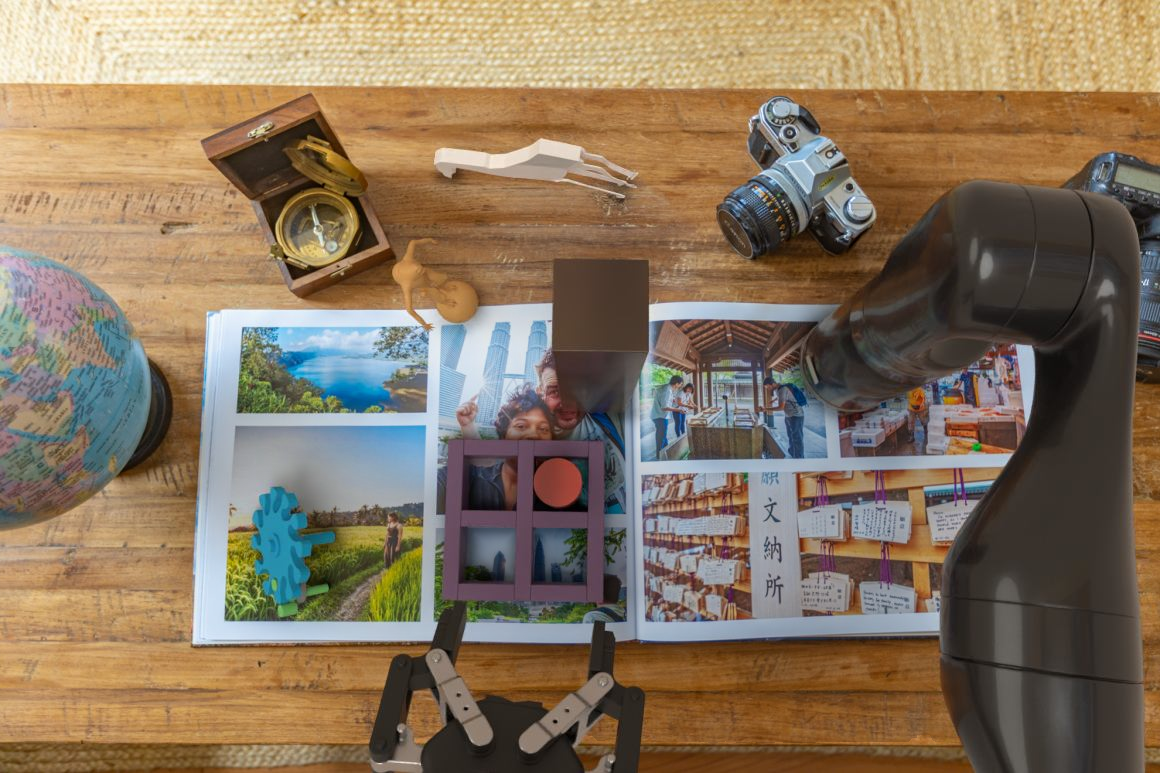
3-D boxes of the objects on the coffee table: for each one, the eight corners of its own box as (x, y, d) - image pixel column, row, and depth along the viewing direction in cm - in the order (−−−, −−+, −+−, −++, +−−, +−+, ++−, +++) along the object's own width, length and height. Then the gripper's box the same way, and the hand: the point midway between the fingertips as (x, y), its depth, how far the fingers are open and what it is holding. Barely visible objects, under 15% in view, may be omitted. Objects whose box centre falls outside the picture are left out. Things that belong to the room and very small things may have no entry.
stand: (626, 350, 75) (649, 259, 49) (626, 413, 74) (649, 352, 48) (563, 349, 75) (553, 257, 49) (562, 412, 74) (551, 351, 48)
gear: (242, 486, 71) (292, 489, 64) (304, 480, 75) (358, 482, 68) (246, 610, 71) (297, 626, 64) (309, 597, 75) (363, 611, 68)
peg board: (603, 445, 73) (604, 441, 69) (602, 598, 71) (603, 602, 67) (455, 443, 73) (448, 438, 70) (449, 596, 71) (441, 600, 67)
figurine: (479, 350, 75) (460, 317, 63) (416, 349, 75) (385, 316, 63) (482, 266, 76) (464, 219, 65) (420, 266, 76) (390, 218, 65)
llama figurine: (597, 204, 84) (432, 156, 78) (646, 165, 74) (459, 105, 67) (595, 221, 84) (429, 174, 77) (644, 183, 73) (456, 125, 67)
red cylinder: (582, 465, 73) (582, 458, 65) (581, 509, 72) (581, 506, 64) (539, 465, 73) (534, 457, 65) (538, 508, 72) (533, 506, 64)
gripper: (327, 924, 38) (417, 640, 51) (623, 969, 37) (637, 671, 50) (310, 850, 33) (414, 561, 46) (645, 900, 33) (654, 594, 46)
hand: (530, 619), depth 48 cm, fingers open, 8 cm apart
